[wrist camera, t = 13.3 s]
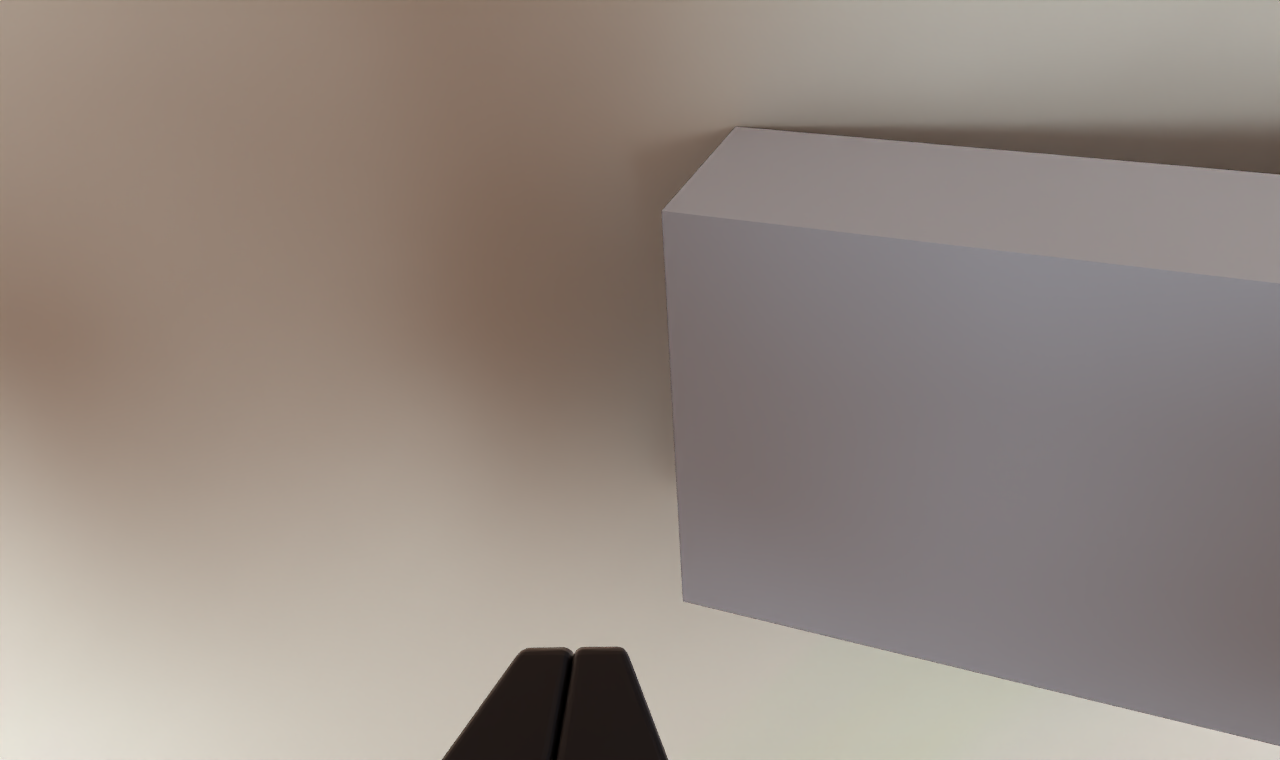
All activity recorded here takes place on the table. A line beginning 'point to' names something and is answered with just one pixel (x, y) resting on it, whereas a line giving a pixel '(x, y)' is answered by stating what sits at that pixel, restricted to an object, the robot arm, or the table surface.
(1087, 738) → the table surface
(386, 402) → the table surface
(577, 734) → the robot arm
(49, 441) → the table surface
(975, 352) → the slate domino
